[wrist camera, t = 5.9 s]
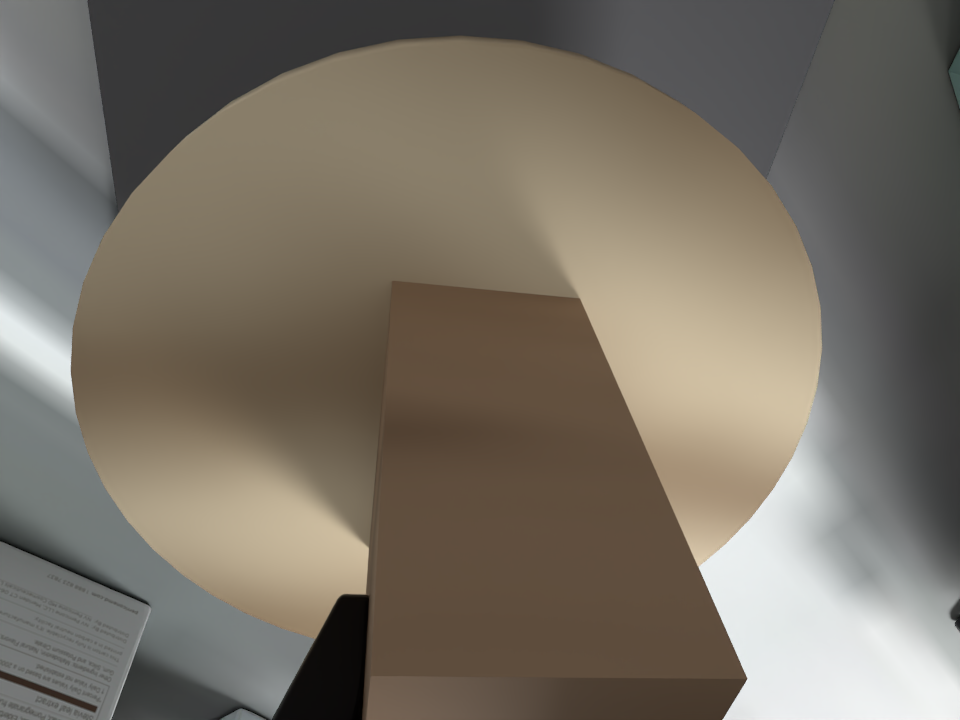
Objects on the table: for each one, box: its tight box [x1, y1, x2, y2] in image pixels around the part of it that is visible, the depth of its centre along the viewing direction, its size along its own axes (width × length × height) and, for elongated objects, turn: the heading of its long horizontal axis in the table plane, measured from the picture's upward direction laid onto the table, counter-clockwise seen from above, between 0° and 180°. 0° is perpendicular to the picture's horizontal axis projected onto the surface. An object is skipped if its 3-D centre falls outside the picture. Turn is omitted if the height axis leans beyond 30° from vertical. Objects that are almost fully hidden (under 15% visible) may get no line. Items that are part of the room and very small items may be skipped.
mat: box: [88, 0, 835, 213], centre depth 18 cm, size 20×16×1 cm
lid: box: [71, 36, 822, 720], centre depth 10 cm, size 13×13×7 cm
